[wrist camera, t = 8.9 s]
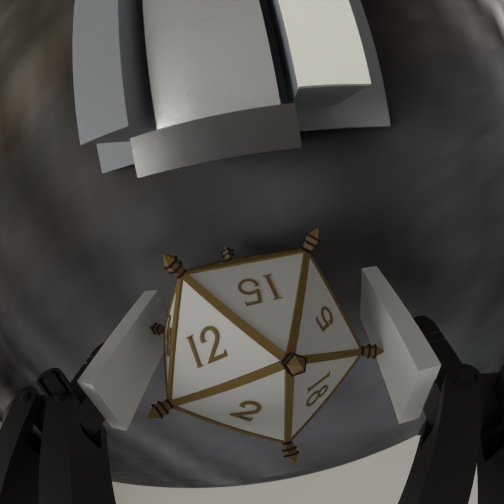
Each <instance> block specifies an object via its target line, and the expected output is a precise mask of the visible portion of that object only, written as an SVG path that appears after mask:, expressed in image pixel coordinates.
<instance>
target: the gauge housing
mask: <svg viewBox="0 0 504 504" xmlns="http://www.w3.org/2000/svg"><path fill="white" fill-rule="evenodd" d="M259 3H260V7H261V11H262V15H263V20H264V24H265V28H266V33H267V37H268V42H269V47H270V51H271V56H272V61H273V66H274V71H275V76H276V82H277V87H278V92H279V98H280V103H281V104H289V103H295V107H296V113H297V119H298V125H299V132H304V131H315V130H327V129H342V128H363V127H387V126H390V118H389V112H388V106H387V100H386V94H385V89H384V84H383V79H382V74H381V70H380V65H379V61H378V57H377V53H376V49H375V45H374V42H373V38H372V34H371V31H370V28H369V24H368V21H367V18H366V15H365V12H364V9H363V6H362V3H361V1H360V0H259ZM73 81H74V95H75V106H76V116H77V124H78V132H79V139H80V145H87V144H97V149H98V154H99V160H100V165H101V170H102V174H103V173H107V172H111V171H114V170H118V169H121V168H124V167H127V166H131V165H134V164H135V163H134V158H133V152H132V147H131V141H130V138H133V137H136V136H139V135H142V134H145V133H148V132H152V131H155V130H157V126H156V120H155V113H154V107H153V100H152V93H151V86H150V78H149V70H148V62H147V52H146V42H145V31H144V18H143V1H142V0H75V6H74V19H73Z"/></svg>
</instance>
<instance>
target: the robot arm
mask: <svg viewBox="0 0 504 504" xmlns="http://www.w3.org/2000/svg"><path fill="white" fill-rule="evenodd" d="M166 318H167V316H166V313H165V311H164V308H163V305H162V302H161V299H160V296H159V293H158V290H154V291H144V293H143V294H142V295H141V296H140V298H139V299H138V300H137V301H136V303H135V304H134V305H133V307H132V308H131V309H130V310H129V312H128V313H127V314H126V315H125V317H124V318H123V319H122V321H121V322H120V323H119V325H118V326H117V327H116V328H115V330H114V331H113V332H112V334H111V335H110V336H109V338H108V339H107V340H106V342H103V343H102V344H101V345H99V346H98V347H97V348H96V349H95V350H94V351H93V352H92V354H91V355H90V358H88V359H87V361H86V362H85V364H84V365H83V366H82V367H81V369H80V370H79V372H78V373H77V374H76V376H75V377H74V378H73V380H72V381H71V383H69V381H68V380H67V378H66V377H65V375H64V374H63V372H62V371H61V370H60V369H58V368H51V369H49V370H46V371H45V372H43V373H42V374H41V375H40V376H39V378H38V380H37V383H38V385H39V386H40V388H41V389H42V390H43V392H44V393H45V394H46V395H39V393H38V392H37V391H36V389H35V388H34V387H31V386H30V387H25V388H23V389H21V391H20V392H19V393H18V394H17V395H16V397H15V399H14V401H11V402H10V404H9V405H8V406H7V408H6V411H5V415H4V418H3V422H2V427H1V429H0V504H116V502H115V497H114V492H113V486H112V480H111V473H110V466H109V458H108V448H107V437H106V430H105V428H104V427H103V426H102V423H103V422H104V420H106V421H107V422H108V423H109V425H110V426H111V427H112V428H116V429H120V430H125V431H127V429H128V427H129V425H130V423H131V421H132V418H133V416H134V414H135V412H136V410H137V407H138V405H139V403H140V401H141V399H142V397H143V395H144V392H145V390H146V388H147V386H148V384H149V382H150V380H151V378H152V376H153V374H154V371H155V369H156V367H157V365H158V363H159V361H160V359H161V357H162V355H163V353H164V336H163V334H161V335H158V334H155V335H154V334H153V331H152V330H151V329H150V326H152V325H153V324H154V323H155V322H156V323H158V324H159V323H160V324H162V325H163V326H165V322H166ZM360 319H361V321H362V323H363V326H364V328H365V331H366V333H367V336H368V338H369V341H370V343H371V345H374V344H376V346H378V347H379V348H381V349H382V350H383V351H384V352H383V353H381V354H379V355H378V356H376V359H377V362H378V364H379V367H380V370H381V372H382V375H383V378H384V381H385V383H386V386H387V389H388V392H389V395H390V398H391V401H392V404H393V407H394V410H395V413H396V416H397V419H398V422H399V424H401V423H405V422H408V421H412V420H415V419H418V418H419V417H420V415H421V413H422V410H424V412H425V415H426V417H427V418H426V420H425V422H424V424H423V425H422V427H421V429H420V431H419V433H418V435H421V437H420V441H419V444H418V448H417V451H416V455H415V458H414V461H413V464H412V467H411V471H410V474H409V476H408V479H407V482H406V485H405V487H404V490H403V493H402V495H401V498H400V500H399V502H398V504H468V501H469V497H470V493H471V489H472V485H473V480H474V475H475V470H476V464H477V474H478V504H504V365H503V366H502V368H501V370H500V372H496V373H485V374H480V372H479V371H478V370H477V369H476V368H474V367H473V366H471V365H467V364H462V363H461V361H460V360H459V358H458V356H457V355H456V353H455V352H454V350H453V349H452V347H451V346H450V344H449V343H448V341H447V340H446V339H445V338H444V335H443V334H442V333H441V332H440V330H439V328H438V327H437V325H436V324H435V323H434V321H432V320H431V319H429V318H428V317H426V316H425V315H423V316H418V317H414V318H412V316H411V315H410V313H409V312H408V310H407V309H406V307H405V306H404V304H403V303H402V301H401V300H400V298H399V297H398V295H397V294H396V292H395V291H394V290H393V288H392V287H391V285H390V284H389V283H388V281H387V280H386V278H385V277H384V276H383V274H382V273H381V271H380V270H379V269H378V267H377V266H374V267H367V268H361V305H360Z"/></svg>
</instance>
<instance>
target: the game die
mask: <svg viewBox="0 0 504 504" xmlns="http://www.w3.org/2000/svg"><path fill="white" fill-rule="evenodd" d="M306 235H307V236H306V238H305V240H304V239H303V241H304V245H303V247H302V249H295V250H288V251H282V252H275V253H268V254H261V255H254V256H247V257H240V258H233V256H234V254H233V250H232V249H229V248H228V247H226V246H225V247H224V249H223V251H222V252H221V253H222V255H223V258H224V261H220V262H216V263H211V264H207V265H203V266H199V267H195V268H191V269H187V270H185V269H184V268H183V266H182V262H181V261H179V260H178V259H177V256H171V255H167V254H162V255H163V260H164V266H165V267H164V269H167V270H168V271H169V274H174V275H176V276H177V278H178V279H177V283H176V286H175V290H174V293H173V297H172V300H171V304H170V307H169V311H168V315H167V318H166V322H165V326H163V325H162V324H160V323H159V324H158V323H156V322H155V323H154V324H153V325H152V326H150V329H151V330H152V331H153V334H154V335H155V334H158V335H161V334H163V336H164V363H165V381H166V395H167V399H166V400H165V401H162V402H159V401H158V403H157V404H155V405H153V404H152V408H151V411H150V413H149V416H148V418H161V419H162V418H163V416H164V415H165V414H166V415H167V414H168V413H169V410H170V409H172V408H174V409H176V410H179V411H181V412H184V413H186V414H189V415H191V416H194V417H197V418H199V419H202V420H205V421H207V422H210V423H213V424H216V425H219V426H222V427H225V428H228V429H231V430H234V431H238V432H241V433H244V434H248V435H251V436H255V437H259V438H263V439H266V440H271V441H275V442H279V443H282V444H283V450H282V452H284V454H285V456H284V457H286V458H288V459H289V460H291V461H292V462H294V463H295V462H296V458H297V454H298V453H299V451H297V450H296V447H297V446H295V445H294V444H293V443H292V440H293V439H294V438H295V437H296V435H297V434H298V433H299V432H300V431H301V430H302V429H303V428H304V427H305V426H306V425H307V423H308V422H309V421H310V420H311V419H312V418H313V417H314V415H315V414H316V413H317V412H318V411H319V410H320V408H321V407H322V406H323V405H324V404H325V402H326V401H327V400H328V399H329V397H330V396H331V395H332V394H333V392H334V391H335V390H336V389H337V387H338V386H339V385H340V383H341V382H342V381H343V379H344V378H345V377H346V375H347V374H348V373H349V371H350V370H351V369H352V367H353V366H354V364H355V363H356V362H357V360H358V359H359V357H360V356H362V355H363V356H366V357H367V358H369V357H373V359H374V358H375V357H376V356H378V355H379V354H381V353H383V352H384V351H383V350H382V349H381V348H379V347H378V346H376V344H374V345H370V344H368V346H365V347H363V346H361V344H360V342H359V340H358V339H357V337H356V335H355V333H354V331H353V329H352V327H351V325H350V323H349V321H348V320H347V318H346V316H345V314H344V312H343V310H342V308H341V306H340V305H339V303H338V301H337V299H336V297H335V296H334V294H333V292H332V290H331V288H330V286H329V285H328V283H327V281H326V279H325V278H324V276H323V274H322V272H321V270H320V269H319V267H318V265H317V263H316V262H315V260H314V258H313V257H312V255H311V250H312V249H313V248H314V247H315V248H316V244H317V242H318V241H320V240H319V227H318V228H317V229H315V230H313V231H311V232H310V233H308V234H307V233H306Z"/></svg>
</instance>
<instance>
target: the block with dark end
mask: <svg viewBox="0 0 504 504" xmlns="http://www.w3.org/2000/svg"><path fill="white" fill-rule="evenodd" d="M142 1H143V18H144V31H145V42H146V52H147V62H148V70H149V78H150V86H151V93H152V100H153V107H154V113H155V120H156V126H157V130H155V131H152V132H148V133H145V134H142V135H139V136H136V137H133V138H130V141H131V147H132V152H133V158H134V163H135V168H136V173H137V178H140V177H143V176H147V175H151V174H155V173H159V172H163V171H168V170H172V169H176V168H181V167H185V166H190V165H195V164H199V163H204V162H209V161H215V160H220V159H225V158H231V157H237V156H243V155H249V154H256V153H263V152H270V151H277V150H285V149H293V148H302V145H301V138H300V132H299V125H298V119H297V113H296V107H295V103H289V104H281V103H280V98H279V92H278V87H277V82H276V76H275V71H274V66H273V61H272V56H271V51H270V47H269V42H268V37H267V33H266V28H265V24H264V20H263V15H262V11H261V7H260V3H259V0H142Z"/></svg>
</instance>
